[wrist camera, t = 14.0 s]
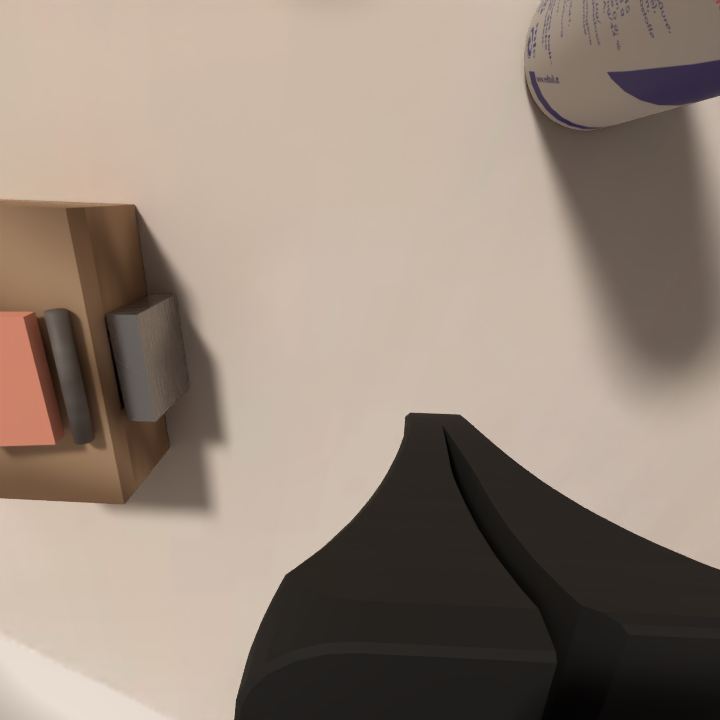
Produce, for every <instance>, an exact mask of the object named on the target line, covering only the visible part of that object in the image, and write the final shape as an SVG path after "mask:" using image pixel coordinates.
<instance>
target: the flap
mask: <svg viewBox="0 0 720 720" xmlns="http://www.w3.org/2000/svg"><path fill="white" fill-rule="evenodd" d="M64 435H65V433H64V429H63V425H62V421H61V417H60V412H59V408H58V404H57V400H56V396H55V392H54V388H53V384H52V379H51V375H50V371H49V367H48V363H47V359H46V355H45V351H44V346H43V342H42V338H41V334H40V330H39V326H38V322H37V317H36V313H35V312H0V446H26V445H56V444H57V443H58V442H59V440H60V439H61V438H62V437H63V436H64Z"/></svg>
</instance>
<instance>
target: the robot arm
mask: <svg viewBox="0 0 720 720" xmlns="http://www.w3.org/2000/svg"><path fill="white" fill-rule="evenodd" d="M234 720H720V570H719V569H716V568H713V567H711V566H708V565H705V564H703V563H700V562H698V561H695V560H693V559H691V558H688V557H686V556H684V555H681V554H679V553H677V552H674V551H672V550H670V549H667V548H665V547H663V546H660V545H658V544H656V543H653V542H651V541H649V540H647V539H645V538H643V537H641V536H638V535H636V534H634V533H632V532H630V531H628V530H626V529H624V528H622V527H620V526H618V525H616V524H614V523H612V522H610V521H608V520H607V519H605V518H603V517H601V516H599V515H597V514H595V513H593V512H591V511H590V510H588V509H586V508H584V507H582V506H581V505H579V504H577V503H576V502H574V501H573V500H571V499H569V498H568V497H566V496H564V495H563V494H561V493H560V492H558V491H556V490H555V489H553V488H552V487H550V486H549V485H547V484H546V483H544V482H543V481H541V480H540V479H538V478H537V477H536V476H534V475H533V474H531V473H530V472H529V471H527V470H526V469H525V468H523V467H522V466H521V465H519V464H518V463H517V462H515V461H514V460H513V459H512V458H510V457H509V456H508V455H507V454H505V453H504V452H503V451H502V450H500V449H499V448H498V447H497V446H496V445H495V444H493V443H492V442H491V441H490V440H489V439H488V438H486V437H485V436H484V435H483V434H482V433H481V432H480V431H478V430H477V429H476V428H475V427H474V426H473V425H472V424H471V423H469V422H468V421H467V420H466V419H465V418H463V417H462V416H461V415H455V414H430V413H409V414H408V415H407V416H406V417H405V428H404V437H403V440H402V443H401V445H400V448H399V451H398V453H397V455H396V457H395V459H394V461H393V463H392V465H391V467H390V469H389V471H388V473H387V474H386V476H385V478H384V479H383V481H382V483H381V484H380V486H379V487H378V488H377V490H376V491H375V493H374V494H373V496H372V497H371V498H370V499H369V501H368V502H367V503H366V504H365V506H364V507H363V508H362V509H361V510H360V512H359V513H358V514H357V515H356V516H355V517H354V518H353V519H352V521H351V522H350V523H349V524H348V525H347V526H345V527H344V528H343V529H342V530H341V531H340V532H339V533H338V534H337V535H336V536H335V537H334V538H333V539H332V540H331V541H330V542H328V543H327V544H326V545H325V546H324V547H323V548H322V549H320V550H319V551H318V552H316V553H315V554H314V555H312V556H311V557H310V558H308V559H307V560H306V561H304V562H303V563H302V564H300V565H299V566H298V567H296V568H295V569H294V570H292V571H290V572H289V573H288V574H286V575H285V577H284V579H283V580H282V582H281V584H280V586H279V588H278V590H277V592H276V593H275V595H274V597H273V599H272V601H271V603H270V605H269V607H268V609H267V611H266V613H265V615H264V617H263V620H262V622H261V624H260V627H259V629H258V631H257V634H256V636H255V639H254V642H253V644H252V647H251V649H250V652H249V655H248V659H247V662H246V665H245V669H244V673H243V677H242V680H241V684H240V688H239V691H238V695H237V699H236V707H235V719H234Z"/></svg>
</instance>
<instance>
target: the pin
mask: <svg viewBox="0 0 720 720" xmlns="http://www.w3.org/2000/svg"><path fill="white" fill-rule="evenodd" d="M105 315H106V317H105V322H106V328H107V333H108V339H109V344H110V349H111V355H112V360H113V366H114V371H115V377H116V382H117V388H118V393H122V396H123V401H124V405H125V410H126V415H127V419H128V421H147V422H156V421H157V420H158V419H159V418H160V417H161V416H162V415H163V414H164V413H165V412H166V411H167V410H168V409H169V408H170V407H171V406H172V404H173V403H174V402H175V401H176V400H177V399H178V398H179V397H180V396H181V395H182V394H183V393H184V392H185V391H186V390H187V389H188V388H189V387H190V385H189V378H188V371H187V365H186V358H185V351H184V344H183V338H182V331H181V324H180V317H179V310H178V304H177V297H176V294H149V295H147V296H145V297H143V298H140V299H138V300H136V301H134V302H132V303H129V304H127V305H125V306H123V307H121V308H118V309H116V310H114V311H112V312H110V313H107V314H105Z"/></svg>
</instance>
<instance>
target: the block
mask: <svg viewBox="0 0 720 720" xmlns="http://www.w3.org/2000/svg"><path fill="white" fill-rule="evenodd" d="M145 296H147V289H146V282H145V275H144V268H143V261H142V254H141V247H140V240H139V233H138V226H137V219H136V212H135V205H131V204H105V203H79V202H53V201H28V200H2V199H0V312H35V313H36V317H37V322H38V326H39V330H40V334H41V338H42V342H43V346H44V351H45V355H46V359H47V363H48V367H49V371H50V375H51V379H52V384H53V388H54V392H55V396H56V400H57V404H58V408H59V412H60V417H61V421H62V425H63V429H64V433H65V435H64V436H63V437H62V438H61V439H60V440H59V442H58V443H57V444H56V445H26V446H0V498H7V499H27V500H47V501H67V502H88V503H108V504H125V503H126V501H127V500H128V499H129V498H130V496H131V495H132V494H133V493H134V491H135V490H136V489H137V488H138V486H139V485H140V484H141V483H142V482H143V480H144V479H145V478H146V477H147V475H148V474H149V473H150V472H151V470H152V469H153V468H154V467H155V465H156V464H157V463H158V462H159V460H160V459H161V458H162V457H163V455H164V454H165V453H166V452H167V450H168V449H169V442H168V435H167V428H166V421H165V414H163V415H162V416H161V417H160V418H159V419H158V420H157V421H156V422H147V421H128V419H127V415H126V410H125V405H124V401H123V396H122V393H118V388H117V382H116V377H115V371H114V366H113V360H112V355H111V349H110V344H109V339H108V333H107V328H106V322H105V317H106V315H105V314H107V313H110V312H112V311H114V310H116V309H118V308H121V307H123V306H125V305H127V304H129V303H132V302H134V301H136V300H138V299H140V298H143V297H145Z"/></svg>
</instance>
